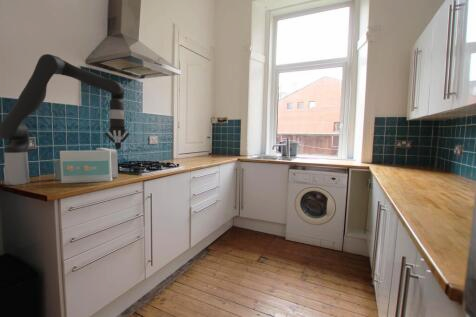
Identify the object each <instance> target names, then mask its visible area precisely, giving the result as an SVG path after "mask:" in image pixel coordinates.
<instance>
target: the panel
mask: <svg viewBox="0 0 476 317" xmlns="http://www.w3.org/2000/svg"><path fill="white" fill-rule="evenodd" d="M84 165H90V167H93V166H96V169H90V171H84V169H83V167H84ZM67 166H73V167H80V169H77V170H73V171H67V170H66V167H67ZM109 174H110V172H109V160H94V161H63V176H81V175H109Z"/></svg>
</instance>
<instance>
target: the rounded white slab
mask: <svg viewBox="0 0 476 317" xmlns="http://www.w3.org/2000/svg"><path fill="white" fill-rule="evenodd" d="M95 151H111V176H112V179H115V178H116V177H117V178H118V177H119V175H118V174H119V172H118V170H119V169H118V167H119V166H118V150H117V149H116V148H115V149H113V148H109V147H108V148H107V147H96V149H95Z"/></svg>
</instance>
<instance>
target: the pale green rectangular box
mask: <svg viewBox="0 0 476 317" xmlns="http://www.w3.org/2000/svg"><path fill="white" fill-rule="evenodd" d="M59 159H60V165H61V180H60V184H74V183H75V184H76V183H96V182H97V183H99V182H101V183H102V182H112V181H113V178H112V176H111V151H96V150H60V151H59ZM94 160H109V172H110V174H109V175H81V176H63V161H94ZM77 169H80V167H73V166H67V167H66V170H67V171H73V170H77ZM83 169H84V171H90V169H96V166H93V167H90V165H84V167H83Z"/></svg>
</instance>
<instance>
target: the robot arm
mask: <svg viewBox="0 0 476 317" xmlns="http://www.w3.org/2000/svg"><path fill="white" fill-rule="evenodd" d="M54 75H61V76H65V77H69V78H73V79H74V80H77V81H79V82H81V83H83V84H86V85H87V86H91V87H92V88H93V87H94V88H96V89H98V90H102V91H105V92H108V93H110V100H109V129H108V131H106V132H105V133H104V134H105V136H106V137H107V138H108V139H109V140H110V142H113V143H114V146H115V150H120V149H121V148H122V143H124V142H125V141H126V140H127V138H128V137H129V136H130V135H131V133H130V132H128V131H127V130H126V125H125V124H126V123H125V122H126V121H125V119H126V118H125V110H124V108H125V105H124V100H125V99H124V98H125V88H124V86H123V85H122V84H121V82H118V81H117V80H114V79H110V78H107V77H104V76H102V75H99V74H97V73H95V72H92V71H88V70H86V69H83V68H80V67H78V66H75V65H73V64H71V63H69V62H67V61H66V60H64V59H62V58H61V57H59V56H58V55H57V56H56V55H53V54H49V53H45V54H43V55H41V56H40V57H39V58H38V61H37V63H36V64H35V68H34V70H33V72H32V75H31V77H30V78H28V82H27V83H26V84H25V86H24V88H23V89H22V91H21V93H20V95H19V96H18V98H17V100H16V102H15V103H14V105H13V107H12V108H11V110H10V111H9V113H8V114H7V115H6V117H5V118H4V119H3V120H2V121H1V123H0V139H3V140H7V141H10V140H11V143H10V144H8V145H6V146H5V147H4V148H3V149H4V150H3V151H4V162H5V164H4V165H5V166H4V167H3V176H4V177H3V179H4V185H6V186H7V185H8V186H14V185H15V186H16V185H25V184H29V183H30V170H29V169H30V168H29V158H28V155H29V154H28V149H29V146H30V143H29V142H30V141H29V139H30V138H29V137H30V135H29V134H30V132H29V129H28V126H27V125H26V124H24V123H23V121H24V120H25V119H26V118H27V117H29V116H30V115H32V114H33V113H35V112H36V111H38V110H39V109H40V107H41V106H42V104H43V103H44V101H45V99H46V96H47V88H48V83H49V82H50V80H51V78H52V77H54ZM111 135H112V136H113V137H112V136H111ZM123 136H124V137H123Z"/></svg>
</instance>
